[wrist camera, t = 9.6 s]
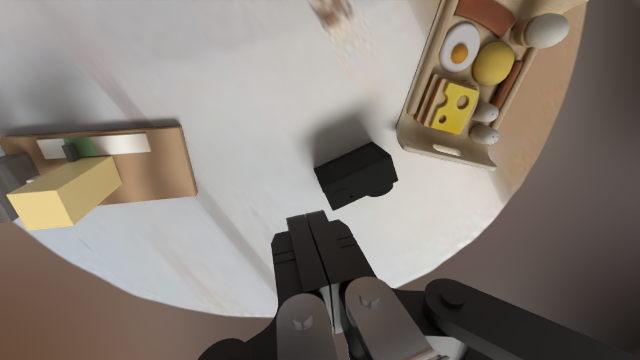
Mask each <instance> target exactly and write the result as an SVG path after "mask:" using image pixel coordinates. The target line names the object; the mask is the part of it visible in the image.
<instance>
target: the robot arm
mask: <svg viewBox="0 0 640 360" xmlns="http://www.w3.org/2000/svg"><path fill="white" fill-rule="evenodd" d="M286 220H287V226H288V231H286V232H281V233H277V234H275V236H274V238H273V241H272V243H271V248H272V255H273V264H274V272H275V280H276V288H277V296H278V309H277V313H276V315H275V317H274V319H273V320H272V322H271V323H270V325H269V326H268V327H267V328H265V329H264V330H263V331H262V332H260V333H259V334H257V335H256V336H254V337H253V338H251V339H249V340H248V341H246V342H243V341H241V340H239V339H234V338H230V339H224V340H221V341H218V342H216V343H215V344H213V345H212V346H211V347H209V348H208V349H207V350H206V351H205V352H203V354H202V355H201V356H200V357H199V358H198V360H338V356H337V352H336V347H335V343H334V338H333V334H334V333H333V327H334V330H335V333H336V334H337V333H340V332H344V336H345V339H346V341H347V344H348V355H349V358H350V360H640V358H638V357H636V356H634V355H631V354H629V353H627V352H624V351H622V350H619V349H617V348H614V347H612V346H610V345H607V344H605V343H603V342H600V341H598V340H596V339H593V338H591V337H589V336H586V335H584V334H581V333H579V332H577V331H574V330H572V329H570V328H567V327H565V326H562V325H560V324H558V323H555V322H553V321H550V320H548V319H546V318H543V317H541V316H539V315H536V314H534V313H531V312H529V311H527V310H524V309H522V308H520V307H517V306H515V305H512V304H510V303H508V302H505V301H503V300H501V299H498V298H496V297H493V296H491V295H489V294H486V293H484V292H481V291H479V290H477V289H474V288H472V287H470V286H467V285H465V284H463V283H460V282H458V281H455V280H451V279H436V280H433V281H431V282H430V283H429V284H428V285H427V286H426V288H425V291H406V290H398V289H394V288H391V287H389V285H387V284H386V283H385V282H384V281H382V280H380V279H378V278H377V277H376V275H375V274H374V272H373V270H372V268H371V266H370V265H369V263H368V261H367V259H366V257H365V256H364V254H363V252H362V250H361V249H360V247H359V245H358V244H357V241H356V240H355V238H354V237H353V234H352V233H351V231H350V229H349V227H348V226H347V225H346V224H344V223H343V222H341V221H340V220H339V219H338V220H334V221H330V222H329V221H328V219H327V217H326V214H325V212H324V211H323V210H321V211H316V212H311V213H307V214H305V215H304V214H303V215H298V216H293V217H289V218H286Z"/></svg>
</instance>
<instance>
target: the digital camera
mask: <svg viewBox="0 0 640 360" xmlns="http://www.w3.org/2000/svg"><path fill="white" fill-rule="evenodd" d="M314 171H315V173H316V176H317V178H318V181H319V184H320V186H321V188H322V190H323V193H325V195H326V197H327V200H328V202H329V204H330V206H331V208H332V210H333V211H334V210H337V209H339V208H341V207H343V206H345V205H347V204H349V203H352V202H354V201H356V200H358V199H360V198H362V197H364V196H370V197H378V196H382V195H385V194H386V193H388V192H389V191H390V190H391V189H392V188H393V183H394V182H397V181H398V178H397V174H396V171H395V168H394V164H393V161H392V158H391V155H390V154H389V153H387V152H386V151H385V150H383V149H382V148H381V147H379V146H378V145H376V144H375V143H374V142H370V143H368V144H366V145H364V146H361V147H359V148H357V149H355V150H353V151H351V152H349V153H346V154H344V155H342V156H340V157H338V158H336V159H334V160H331V161H329V162H327V163H325V164H323V165H321V166H319V167H317V168H314Z"/></svg>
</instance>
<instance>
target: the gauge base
mask: <svg viewBox="0 0 640 360" xmlns="http://www.w3.org/2000/svg"><path fill="white" fill-rule="evenodd" d="M67 143H74V145H75V147H76V149H77V152H78V154H79V156H80V158H89V157H103V156H112V157H113V160H114V163H115V165H116V168H117V171H118V173H119V176H120V179H121V181H122V185H120V186H119V187H118V188H117V189H116V190H115V191H113V192H112V193H111V194H110V195H109V196H108V197H106V198H105V199H104V200H103V201H102V202H101V203H99V204H98V205H97V206H99V205H109V204H119V203H129V202H139V201H149V200H159V199H169V198H179V197H189V196H196V195H197V193H198V191H197V187H196V183H195V179H194V175H193V171H192V167H191V162H190V158H189V154H188V150H187V146H186V142H185V138H184V134H183V130H182V126H173V127H156V128H139V129H122V130H105V131H88V132H71V133H54V134H37V135H20V136H6V137H2V138H0V145H1V147H2V148H3V150H4V152H5V154H6V155H5V156H2V157H0V223H4V222H12V221H14V220H15V219H17V218H18V217H19V216H18V214H17V212H16V211H15V209H14V207H13V206H12V204H11V202H10V201H9V199H8V197H7V194H9V193H11V192H12V191H14V190H16V189H18V188H20V187H22V186H24V185H26V184H28V183H27V180H29V179H31V178H33V177H35V176H37V175H45V174H47V173H49V172H51V171H53V170H55V169H57V168H59V167H61V166H63V165H65V164H67V163H69V162H68V160H67V158H66V155H65V153H64V151H63V149H62V147H61V146H62V145H64V144H67Z"/></svg>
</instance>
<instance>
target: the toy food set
mask: <svg viewBox="0 0 640 360" xmlns="http://www.w3.org/2000/svg"><path fill="white" fill-rule="evenodd" d="M586 1H588V0H441V2H440V5H439V8H438V11H437V14H436V17H435V19H434V22H433V25H432V28H431V31H430V34H429V36H428V39H427V42H426V45H425V48H424V51H423V54H422V56H421V59H420V62H419V65H418V68H417V71H416V73H415V76H414V79H413V82H412V85H411V88H410V90H409V93H408V96H407V99H406V102H405V104H404V107H403V110H402V113H401V116H400V119H399V121H398V124H397V129H396V134H397V140H398V142H399V144H400V146H401V148H402V149H403V150H405V151H408V152H411V153H415V154H419V155H424V156H428V157H432V158H437V159H441V160H446V161H450V162H455V163H460V164H464V165H469V166H473V167H478V168H482V169H487V170H493V171H495V170H496V168H497V166H496V165H495V164H494V163H493V162H492V161H491V159H490V158H489V156H488V147H489V144H493V143H495V142H496V141H497V140H498V137H499V134H498V132H497V129H498V127H499V125H500V123H501V121H502V119H503V117H504V115H505V113H506V111H507V109H508V107H509V105H510V103H511V102H512V100H513V98H514V96H515V94H516V92H517V90H518V88H519V86H520V84H521V82H522V80H523V78H524V76H525V74H526V72H527V70H528V68H529V66H530V65H531V63H532V61H533V59H534V57H535V55H536V53H537V51H538V49H539V48H546V47H550V46H552V45H554V44H556V43H558V42H560V41H561V40H562V39H563V38H564V37H565V36H566V35H567V33H568V32H569V28H570V26H569V22H568V20H567V19H566V18H565V17H564V16H562V15H561V14H563V13H564V12H565V11H567V10H569V9H570V8H572V7H574V6H577V5H579V4H582V3H584V2H586ZM434 148H437V149H441V150H445V151H450V152H454V153H457V154H458V155H460V156H456V155H452V154H448V153H443V152H439V151H437V150H435V149H434Z"/></svg>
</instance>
